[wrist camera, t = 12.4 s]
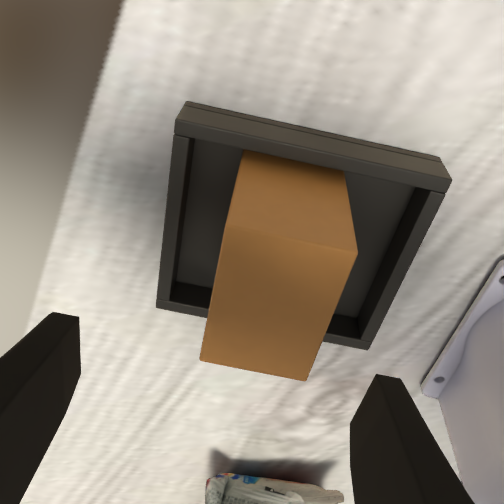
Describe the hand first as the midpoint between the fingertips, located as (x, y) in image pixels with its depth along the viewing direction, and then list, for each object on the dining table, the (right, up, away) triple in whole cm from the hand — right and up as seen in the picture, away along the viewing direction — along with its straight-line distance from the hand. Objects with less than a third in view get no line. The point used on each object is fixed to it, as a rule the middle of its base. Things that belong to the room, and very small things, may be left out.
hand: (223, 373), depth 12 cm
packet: (+2, +4, +9) cm, 10 cm away
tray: (+2, +4, +10) cm, 11 cm away
